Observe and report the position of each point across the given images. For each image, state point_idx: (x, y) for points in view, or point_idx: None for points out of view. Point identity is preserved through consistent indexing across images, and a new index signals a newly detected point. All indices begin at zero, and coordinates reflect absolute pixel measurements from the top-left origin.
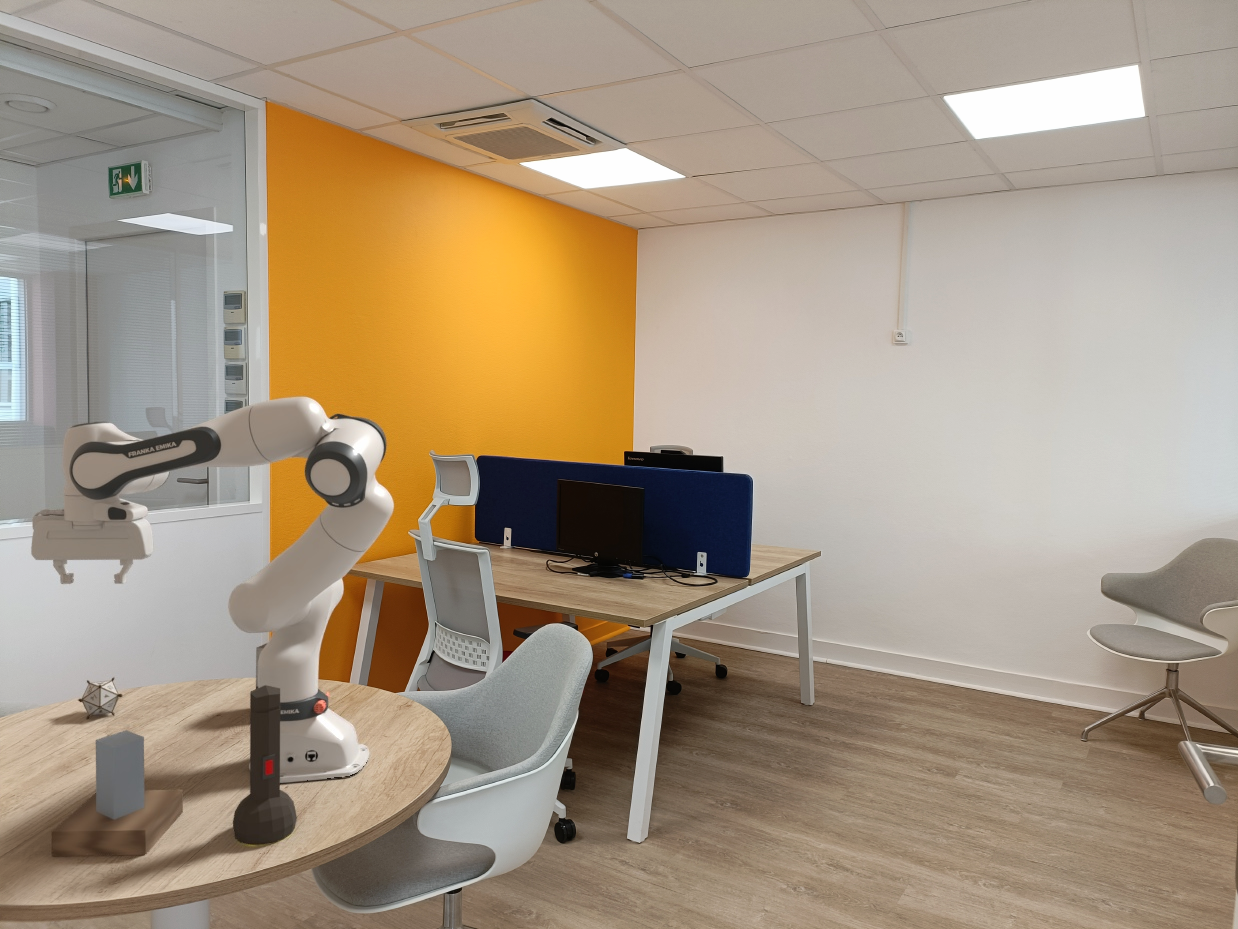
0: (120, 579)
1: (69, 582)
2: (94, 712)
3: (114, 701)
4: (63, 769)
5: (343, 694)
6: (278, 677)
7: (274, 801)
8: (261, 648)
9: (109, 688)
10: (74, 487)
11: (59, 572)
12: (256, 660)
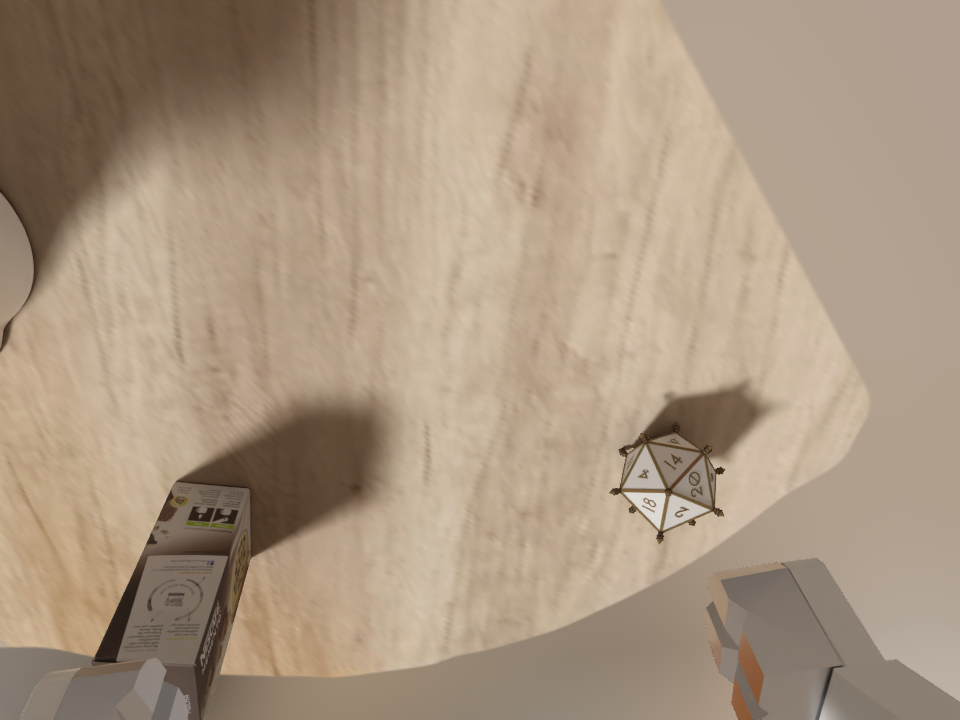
0: (44, 714)
1: (718, 589)
2: (661, 436)
3: (624, 474)
4: (552, 113)
5: None
6: None
7: None
8: (172, 663)
9: (648, 500)
10: None
11: (917, 694)
12: (204, 625)
